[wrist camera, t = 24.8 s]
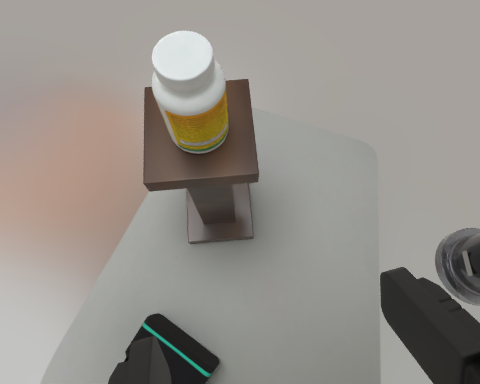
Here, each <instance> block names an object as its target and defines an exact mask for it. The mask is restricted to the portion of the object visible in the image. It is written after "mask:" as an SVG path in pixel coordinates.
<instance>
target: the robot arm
mask: <svg viewBox="0 0 480 384" xmlns="http://www.w3.org/2000/svg"><path fill="white" fill-rule="evenodd" d="M449 260H450V267H451V270H452V273H453V275H454V276H455V278H456V280H457V281H458V282H459V283H460V284H461V285H462V286H463V287H464V288H465V289H467V290H468V291H470V292H472V293H474V294H476V295H480V232H479V233H477V234H474V235H470V236H466V237H464V238H461V239H460V240H458V241H457V242H456V243H455V244H454V246H453V247H452V249H451V252H450V258H449ZM380 287H381V308H382V312H383V314H384V317H385V319H386V320H387V322H388V323H389V325H390V326H391V327H392V329H393V330H394V332H395V333H396V334H397V335H398V337H399V338H400V340H401V341H402V342H403V344H404V345H405V346H406V348H407V349H408V350H409V352H410V353H411V354H412V355H413V357H414V358H415V359H416V361H417V362H418V363H419V365H420V366H421V368H422V369H423V370H424V372H425V373H426V374H427V375H428V377H429V378H430V380H431V381H432V382H433V384H480V323H479V322H478V321H477V320H476V319H475V318H473V317H472V316H471V315H470V314H469V313H468V312H467V311H466V310H465V309H462V307H461V305H460V304H459V303H457V302H456V301H455V300H454V299H452V298H451V296H450V295H449V294H448V293H447V292H446V291H445V290H444V289H442V288H441V287H440V286H439V285H437V284H435V283H433V282H431V281H429V280H427V279H425V278H420V279H416V278H415V277H414V276H413V275H412V274H411V273H410V272H409V271H408V270H407V269H406V268H404V267H400V268H397V269H393V270H389V271H386V272H383V273H381V275H380ZM108 384H171V375H170V370H169V367H168V364H167V362H166V359H165V357H164V355H163V352H162V350H161V348H160V345H159V343H158V340H157V338H156V337H155V336H152V337H148V338H145V339H141V340H138V341H134V342H132V343H131V346H130V352H129V359H128V361H125V362H122V363H118V365H117V366H116V368H115V370H114V372H113V373H112V375H111V377H110V379H109V382H108Z"/></svg>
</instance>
